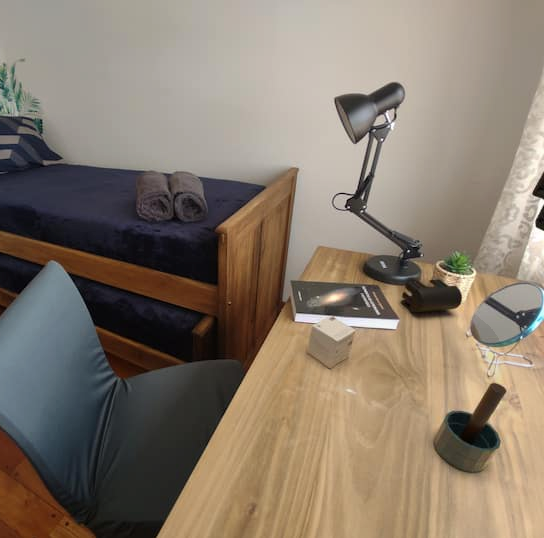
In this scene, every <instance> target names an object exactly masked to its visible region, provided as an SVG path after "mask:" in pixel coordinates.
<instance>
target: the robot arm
mask: <svg viewBox="0 0 544 538" xmlns="http://www.w3.org/2000/svg"><path fill="white" fill-rule="evenodd" d="M531 195H532V196H533V197H535V198H538V199H541V200H543V201H544V171H543V172H542V174H541V176H540V177H539V179H538V181H537V183H536V185H535V186H534V188H533V190H532V192H531ZM534 224H535V228H536V229H538V230H539V231H543V232H544V204H543V205H542V206H541V208H540V210H539V213H538V214H537V217H536V218H535V220H534Z"/></svg>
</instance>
